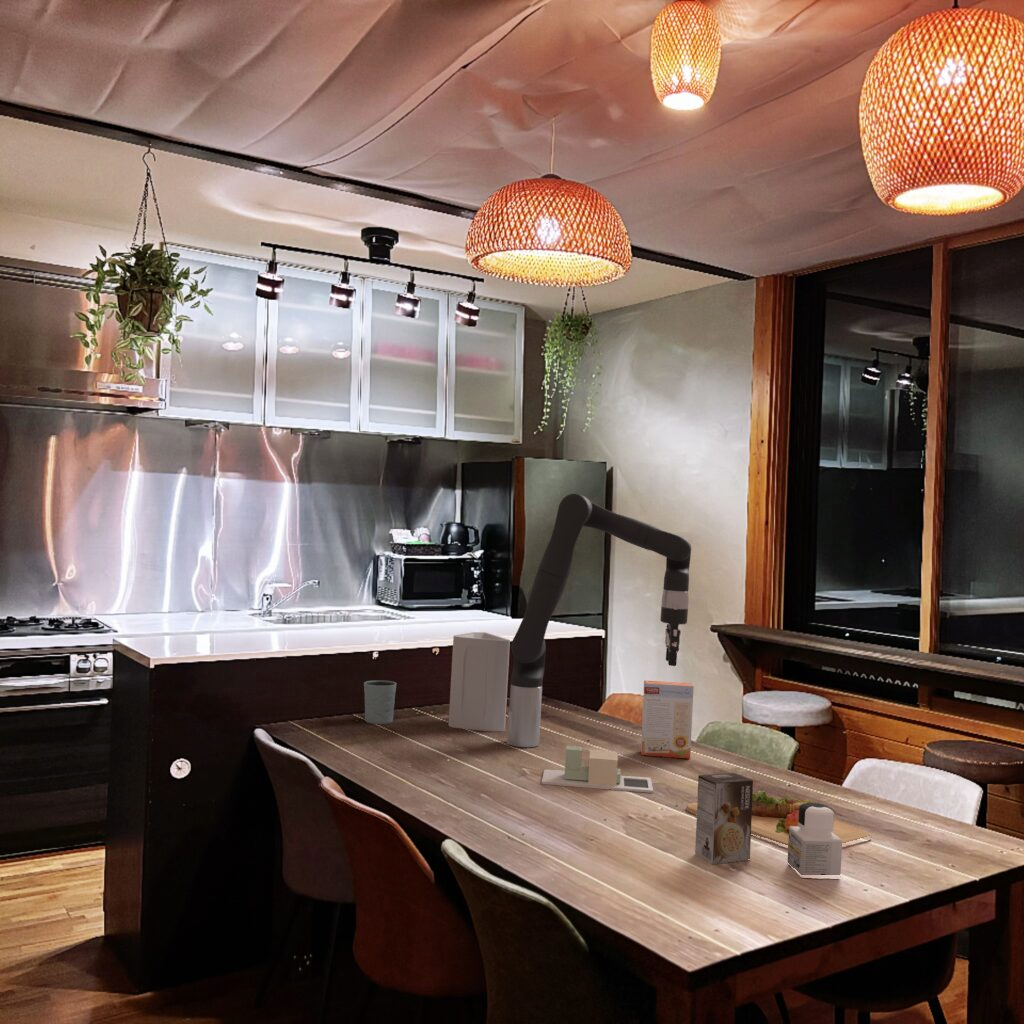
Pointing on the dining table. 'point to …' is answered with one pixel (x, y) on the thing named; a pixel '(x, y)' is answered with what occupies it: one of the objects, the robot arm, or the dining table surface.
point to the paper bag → (479, 682)
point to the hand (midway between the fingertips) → (670, 663)
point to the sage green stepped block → (578, 765)
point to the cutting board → (785, 819)
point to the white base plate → (601, 775)
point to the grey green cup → (379, 701)
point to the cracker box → (667, 719)
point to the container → (815, 842)
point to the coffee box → (724, 818)
